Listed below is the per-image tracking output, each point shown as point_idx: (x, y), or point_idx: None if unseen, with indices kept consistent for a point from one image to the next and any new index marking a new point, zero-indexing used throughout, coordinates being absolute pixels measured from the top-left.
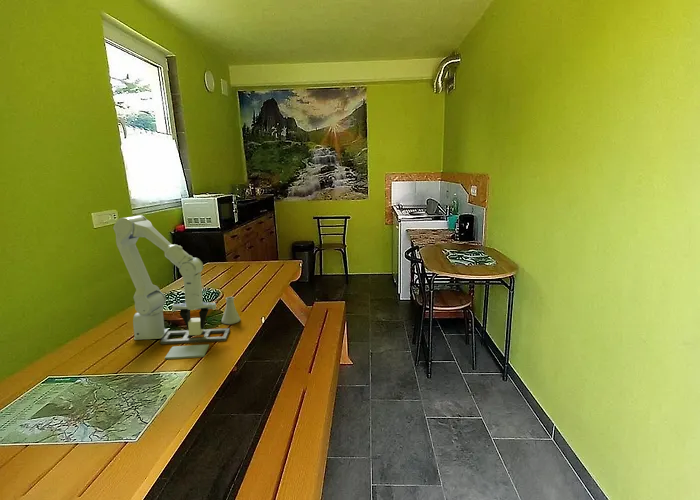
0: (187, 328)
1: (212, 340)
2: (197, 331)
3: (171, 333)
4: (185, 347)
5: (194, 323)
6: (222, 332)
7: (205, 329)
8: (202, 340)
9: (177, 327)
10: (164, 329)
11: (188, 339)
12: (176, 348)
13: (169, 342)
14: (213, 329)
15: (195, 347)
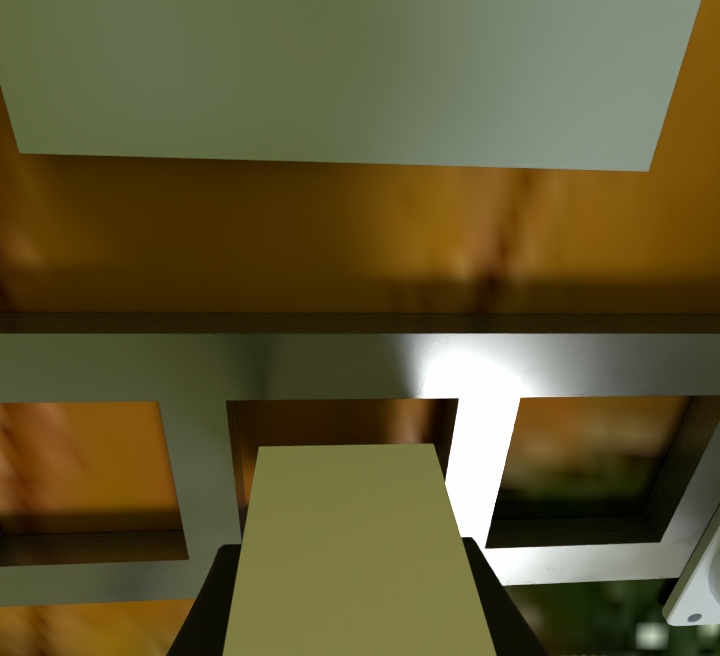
0: (481, 554)
1: (49, 319)
2: (302, 490)
3: (646, 536)
4: (431, 85)
5: (351, 651)
6: (41, 538)
7: None
8: (208, 325)
9: (575, 646)
10: (704, 613)
11: (425, 358)
12: (585, 67)
13: (679, 323)
14: (163, 589)
15: (238, 42)
